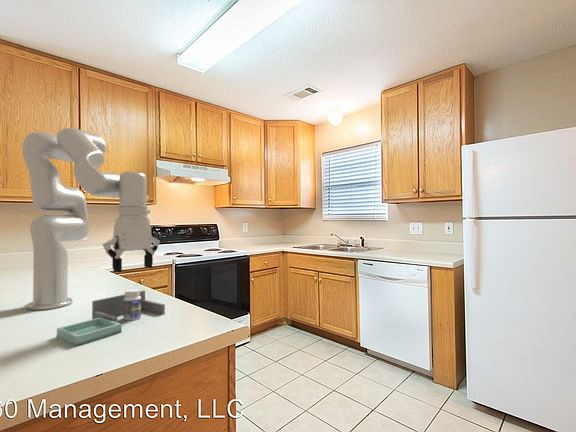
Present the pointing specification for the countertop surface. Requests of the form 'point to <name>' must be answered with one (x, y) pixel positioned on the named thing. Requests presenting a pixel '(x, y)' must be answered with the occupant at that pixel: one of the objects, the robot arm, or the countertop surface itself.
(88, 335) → the tray
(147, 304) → the bay
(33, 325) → the countertop surface
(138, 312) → the pill bottle
